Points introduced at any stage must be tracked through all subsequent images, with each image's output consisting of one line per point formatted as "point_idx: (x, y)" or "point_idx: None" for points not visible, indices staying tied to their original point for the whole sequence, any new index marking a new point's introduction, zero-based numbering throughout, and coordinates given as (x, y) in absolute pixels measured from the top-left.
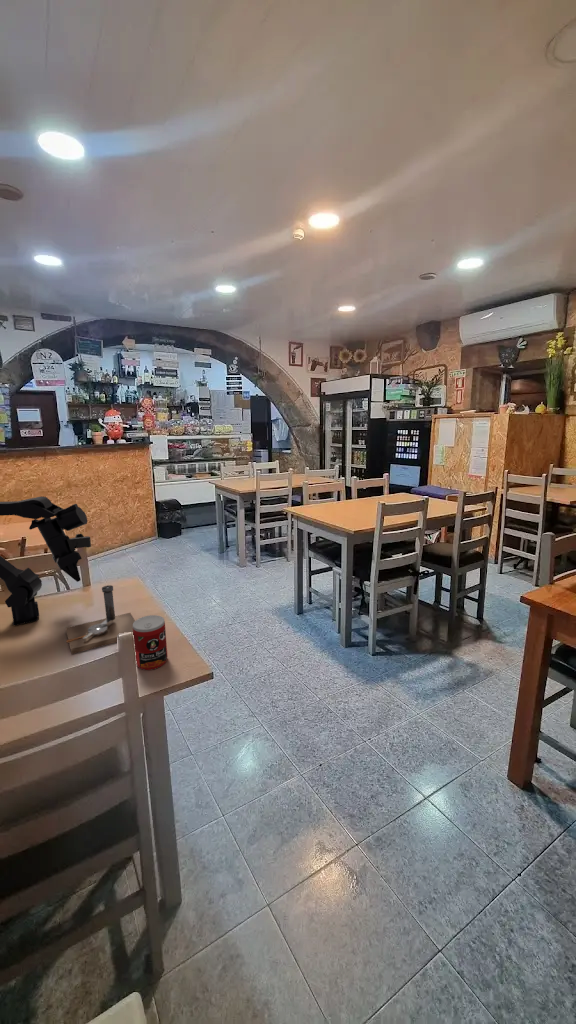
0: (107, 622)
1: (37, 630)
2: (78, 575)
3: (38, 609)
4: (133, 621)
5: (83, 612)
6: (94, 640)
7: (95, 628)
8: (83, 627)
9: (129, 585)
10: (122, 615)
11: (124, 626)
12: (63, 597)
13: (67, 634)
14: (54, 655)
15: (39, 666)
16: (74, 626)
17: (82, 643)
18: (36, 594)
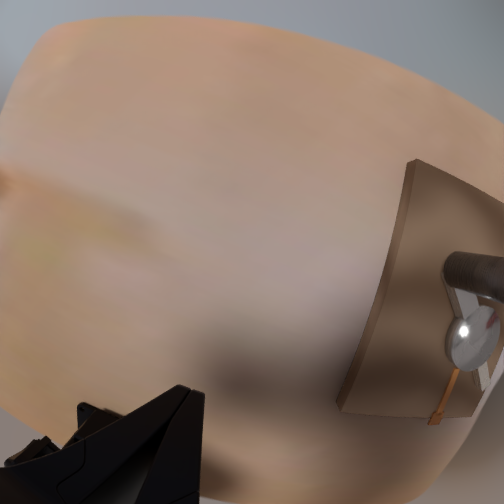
0: (475, 296)
1: (230, 454)
2: (200, 443)
3: (92, 418)
4: (485, 200)
5: (191, 287)
6: (491, 357)
7: (476, 347)
8: (395, 364)
9: (83, 37)
10: (421, 197)
11: (493, 244)
12: (3, 276)
13: (394, 416)
14: (431, 442)
15: (439, 465)
16: (357, 387)
17: (475, 388)
18: (48, 440)
